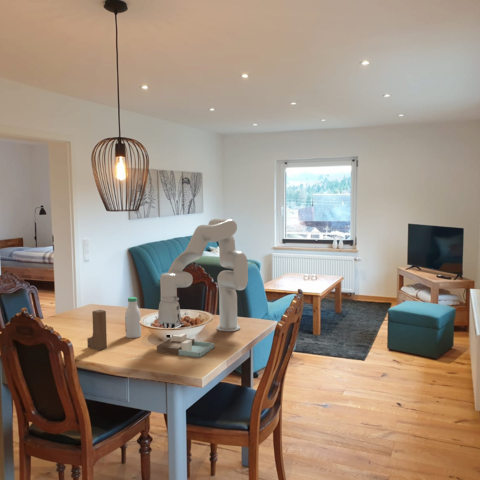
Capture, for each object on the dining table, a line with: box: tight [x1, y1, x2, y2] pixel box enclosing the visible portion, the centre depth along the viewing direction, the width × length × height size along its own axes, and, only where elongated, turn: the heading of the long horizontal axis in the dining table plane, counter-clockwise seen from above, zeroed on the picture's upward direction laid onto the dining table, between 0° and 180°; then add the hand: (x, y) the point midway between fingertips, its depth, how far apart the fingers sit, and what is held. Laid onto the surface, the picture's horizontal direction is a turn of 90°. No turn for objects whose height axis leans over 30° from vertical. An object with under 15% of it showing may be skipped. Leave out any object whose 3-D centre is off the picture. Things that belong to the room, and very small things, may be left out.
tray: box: [178, 340, 215, 359], centre depth 209 cm, size 15×11×2 cm
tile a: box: [171, 333, 188, 342], centre depth 217 cm, size 5×5×2 cm
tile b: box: [182, 340, 192, 351], centre depth 206 cm, size 5×5×2 cm
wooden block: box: [86, 309, 108, 351], centre depth 214 cm, size 9×4×18 cm, turn 54°
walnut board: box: [156, 337, 196, 356], centre depth 213 cm, size 16×11×3 cm
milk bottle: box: [124, 296, 142, 339], centre depth 233 cm, size 8×8×20 cm
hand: (169, 336), depth 219 cm, fingers closed
